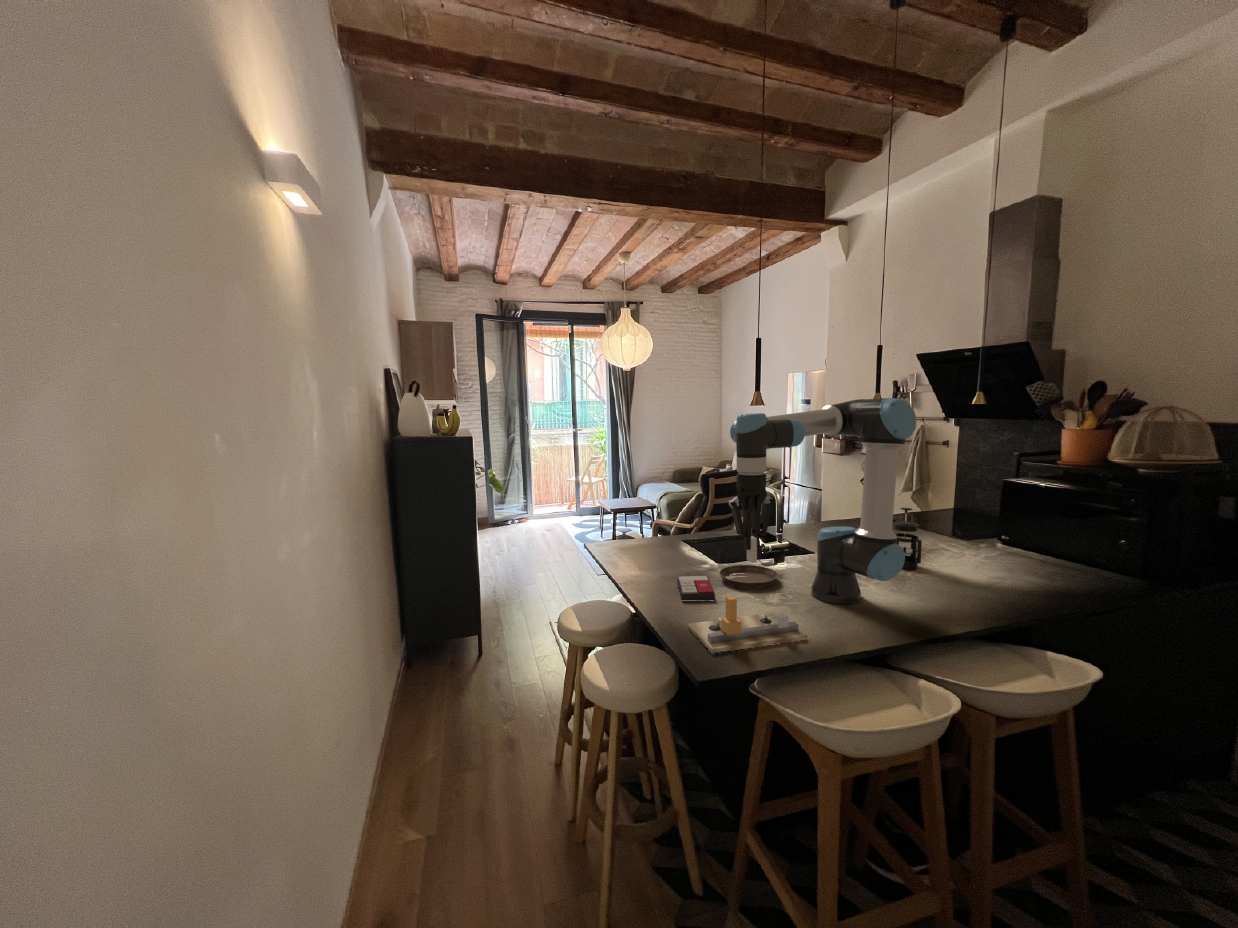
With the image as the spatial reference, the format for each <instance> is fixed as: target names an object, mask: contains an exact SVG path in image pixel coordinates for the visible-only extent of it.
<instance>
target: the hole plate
mask: <svg viewBox="0 0 1238 928" xmlns="http://www.w3.org/2000/svg"><path fill="white" fill-rule="evenodd" d="M770 613H771V614H772V615H773V613H777V612H776V611H774V612H770ZM764 614H765V613H759V614H751V615H744V616H737V618H738V619H739V620H740V621H741V629H744V628H752V627H759V626H766V625H773V624H772V620H771V619H769V618H768V620H764ZM688 627H689V628H690V630H691V631H692V632H693V633H694V634H695V635H696V636H697V637H698V639H700V641H701V642H702V643H703V644H704V645H705V647H707V648H708V650H709V651H710V652H711V653H714V652H720V651H731V650H738V649H744V648H749V647H759V648H761V647H760V646H765V645H770V644H777V643H785V644H788V643H787V642H791V643H794V642H793V641H798V642H801V641H800V640H805V641H807V640H808V634H807V633H805V632H804V631H802V630H801V629H800V628H799V631H798V632H791V633H784V634H777V635H770V636H764V637H757V638H750V639H743V640H736V641H729V642H723V643H716V644H710V643H709V642H708V634H709V633H716V632H723V630H722V629H721V626H717V619H715V620H707V621H706V620H705V621H699V622H692V623H688V624H687V628H688ZM690 630H689V631H690ZM698 639H697V640H698ZM700 641H699V642H700ZM705 647H704V648H705ZM765 647H766V646H765ZM708 650H707V651H708ZM709 651H708V652H709Z"/></svg>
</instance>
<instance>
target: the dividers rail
mask: <svg viewBox="0 0 1238 928" xmlns="http://www.w3.org/2000/svg"><path fill="white" fill-rule="evenodd" d="M771 613H772V612H769V611H766V612H764V613H763V614H764V620H768V618H769V619H771V620H772V624H773V625H766V626H759V627H752V628H744V629H741V633H738V634H731V635H727V634H726V633H725V632H724V631H723V632H716V633H709V634H708V642H709V643H710V644H716V643H723V642H729V641H736V640H743V639H750V638H757V637H764V636H770V635H777V634H784V633H791V632H798V631H799V629H800V628H799V624H798V623H797V622H796V621H789V615H788V614H786V613H784V611H781V612H780V611H779V612H776V613H773V615H772V614H771Z"/></svg>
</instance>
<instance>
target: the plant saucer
mask: <svg viewBox="0 0 1238 928" xmlns="http://www.w3.org/2000/svg"><path fill="white" fill-rule="evenodd" d="M733 573H744V574H736V575H733V576H747V577H735V578H732V579H727V578H725V577H726V576H730V574H733ZM745 573H746V574H745ZM719 575H720V577H721V578H722V579H723V581H724V582H726V583H727V584H728V585H730V584H731V585H730V586H732V585H733V587H735V586H736V588H740V589H748V588H756V589H763V588H768V587H769V586H771V585H772V584H773V583H775V582H776V581H777V579H778V577H779V574H778V572H777V571H776V570H774V569H771V568H769V567H766V566H761V565H759V566H758V565H752V564H751V565H750V564H739V565H730V566H726V567H723V568H722V569H721V570H719ZM731 576H732V575H731ZM734 580H735V581H734Z"/></svg>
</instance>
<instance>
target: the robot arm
mask: <svg viewBox="0 0 1238 928" xmlns="http://www.w3.org/2000/svg"><path fill="white" fill-rule="evenodd" d="M916 428H917V417H916V412H915V410H914V407H913V406H912V405H911V404H910V403H909V402H908V401H907V400H905V399H903V398H895V397H893V398H892V397H886V398H884V397H883V398H868V399H867V398H861V399H860V398H859V399H854V400H848V401H843V402H839V403H834V404H829V405H824V406H823V407H822V408H821V409H816V410H808V411H807V410H806V411H802V412H794V413H786V414H779V415H772V416H771V415H770V416H767V415H766V414H765V413H763V412H760V413H758V412H757V413H755V412H754V413H741V414H738V416H737V417H736V420H735V421H734V422H733V423H732V424H731V427H730V431H729V434H730V435H729V436H730V438H731V440H732V441H733V442H734V443H735V444H736V445H735V446H736V447H735V448H736V472H737V474H736V493H735V497H733V498H732V499H731V500H730V499H729V500H727V502H726V503H727V505H728V506H729V508H730V511H731V515H732V519H733V523H734V527H735V532H736V534H737V535H739V536H741V537H743V548H744V550H745V551H746V560H747V562H750V563H751V564H752V563H757V562H758V560H757V559H758V549H760V539H761V538H762V537H763V536H762V535H766V534H767V533H768V526H769V524H770V523H769V522H770V517H771V513H772V509H773V506H774V505H775V503H776V498H773V497H771V496H770V495H768V492H767V474H766V472H767V450H770V449H782V448H786V449H787V448H788V449H791V448H793V447H797V446H800V445H801V444H802V442H804V439H805V437H812V436H818V435H826V436H829V437H830V436H849V437H850V436H851V437H859V438H860V439H861V440H860V444H861V445H862V446H863V447H864V448H865V458H864V470H863V485H862V497H861V512H860V524H859V527H858V528H855V527H852V526H827V527H822V528H821V529H819V531H818V534H817V535H818V536H817V540H816V541H817V546H816V548H817V550H816V551H817V555H816V556H817V559H816V560H817V566H816V567H817V568H816V573H815V576H814V579H813V583H812V585H811V595H812V596H813V597H814V598H815V599H817V600H820V601H822V602H825V603H830V604H838V605H852V604H857V603H858V602H860V601H861V599H862V591H861V589H860V586H859V585H860V584H859V582H858V579H857V574H858V575H861V576H864V577H866V578H869V579H871V580H877V581H881V582H888V581H891V580H893V579H894V578H896V577H897V575H898V574H900V572H901V571H902V570H903V569H902V567H903V565H904V561H905V555H906V554H905V552H904V551H903V548H902V547H903V546H901V545H900V544H899V545H897V538H898V537H897V535H896V533H895V532H894V530H893V522H894V521H893V520H894V510H895V509H894V507H895V498H896V484H897V483H896V482H897V473H898V471H897V470H898V461H899V451H900V449H902V448H903V447H904V446H905V445H906V439H909V438H910V437H912V436H913V434H914V432H915V430H916ZM740 505H741V509H740V508H739V506H740ZM740 510H741V511H742V514H741V511H740Z"/></svg>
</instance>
